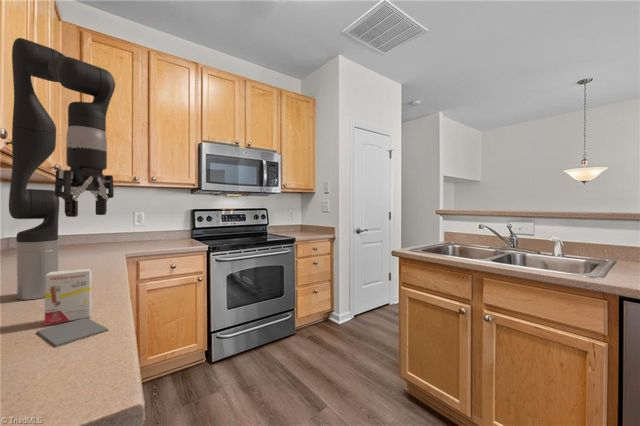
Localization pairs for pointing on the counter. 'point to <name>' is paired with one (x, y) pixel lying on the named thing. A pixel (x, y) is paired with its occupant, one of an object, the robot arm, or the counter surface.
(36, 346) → the counter surface
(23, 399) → the counter surface
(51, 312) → the ink box
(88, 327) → the mat
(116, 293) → the counter surface
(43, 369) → the counter surface
